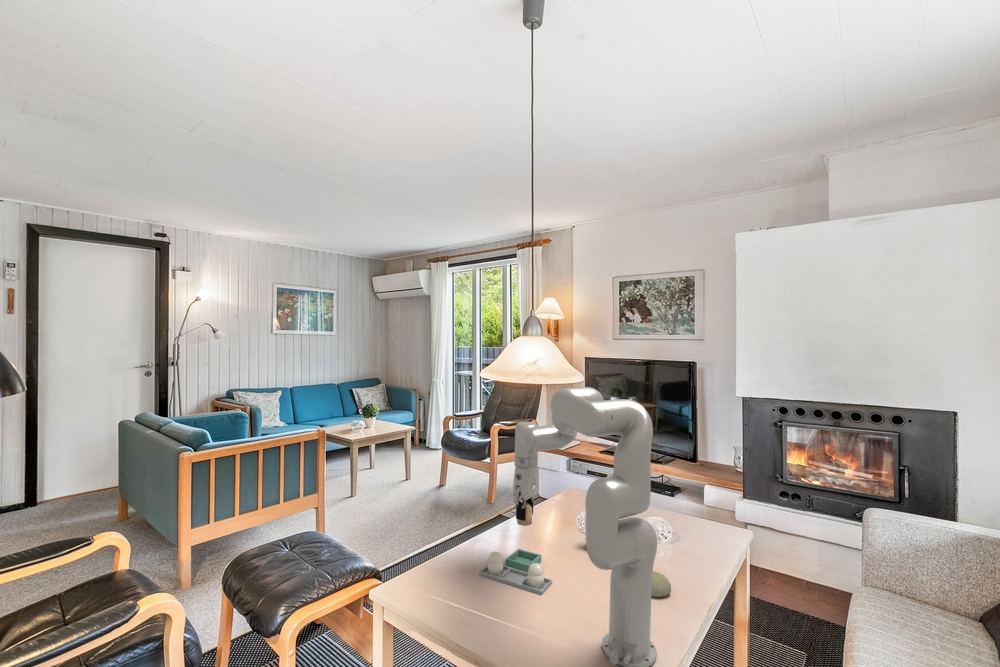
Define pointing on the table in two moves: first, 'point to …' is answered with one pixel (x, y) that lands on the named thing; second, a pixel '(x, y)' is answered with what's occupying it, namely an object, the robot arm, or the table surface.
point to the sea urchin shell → (660, 585)
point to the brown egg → (528, 516)
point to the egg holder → (523, 559)
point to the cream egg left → (495, 564)
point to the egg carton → (515, 579)
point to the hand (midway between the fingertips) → (524, 516)
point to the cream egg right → (536, 576)
